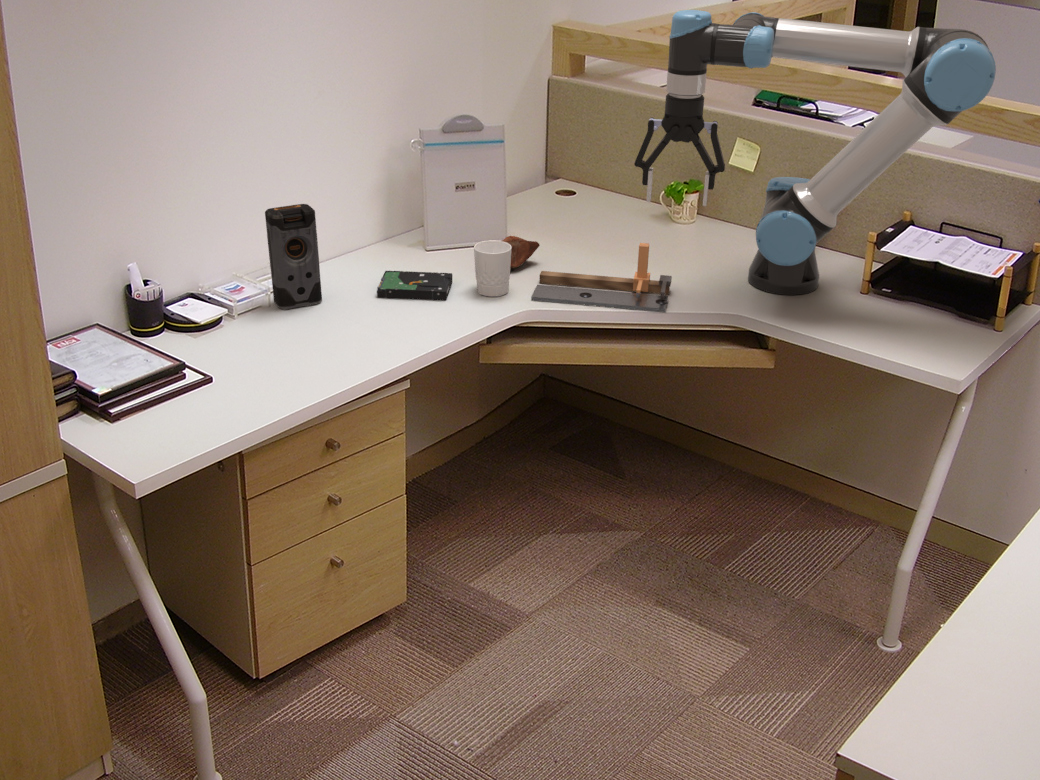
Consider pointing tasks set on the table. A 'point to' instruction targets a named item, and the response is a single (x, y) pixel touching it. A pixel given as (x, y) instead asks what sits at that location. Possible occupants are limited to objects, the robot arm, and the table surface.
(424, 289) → the disk drive
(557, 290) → the metal board
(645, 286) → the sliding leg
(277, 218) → the electronic device
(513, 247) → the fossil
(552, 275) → the beam
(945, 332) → the table surface
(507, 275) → the white cup
